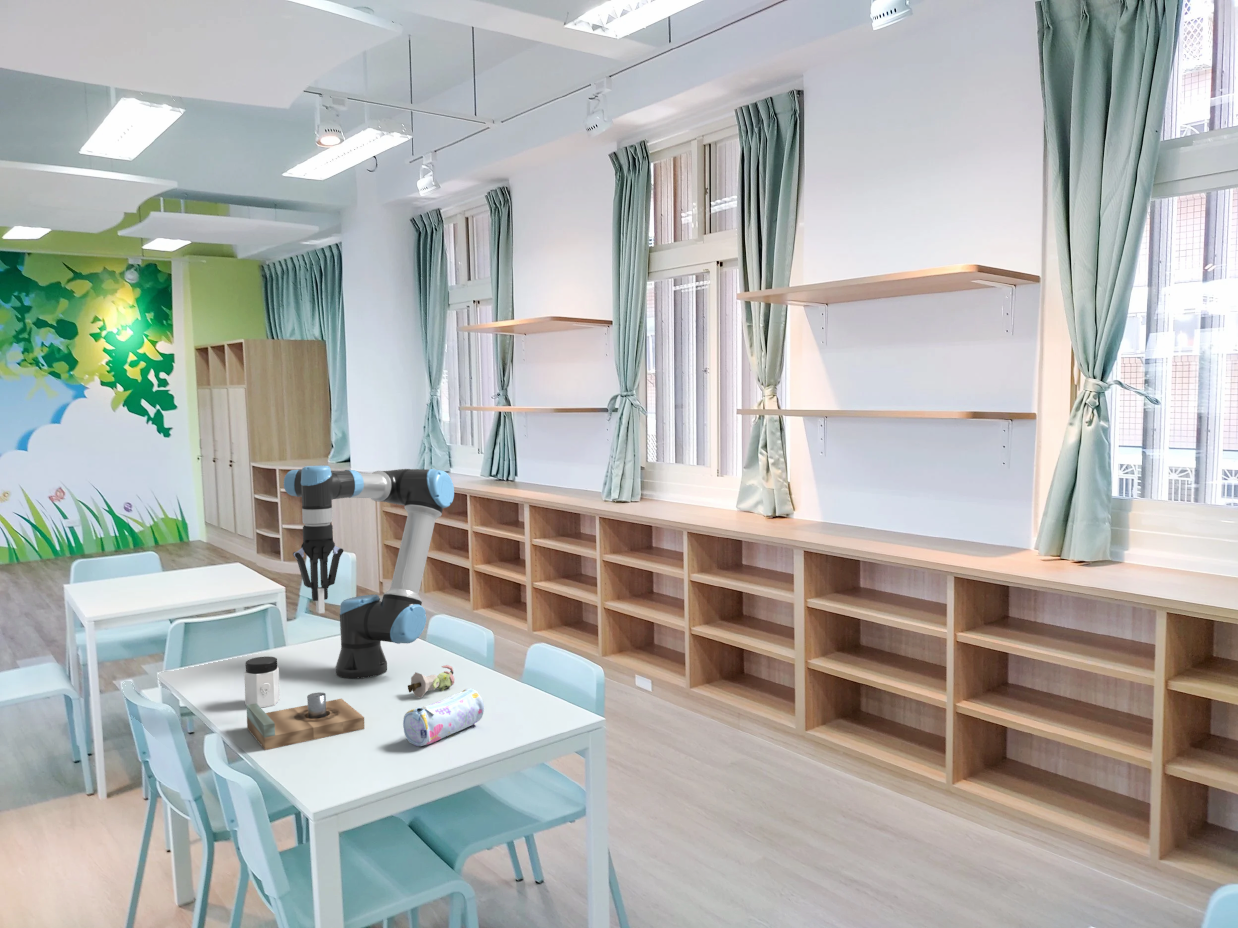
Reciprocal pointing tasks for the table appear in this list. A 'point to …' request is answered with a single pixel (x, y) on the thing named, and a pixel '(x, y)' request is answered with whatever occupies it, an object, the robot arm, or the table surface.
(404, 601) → the robot arm
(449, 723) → the pencil case
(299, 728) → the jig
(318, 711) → the grey metal cylinder
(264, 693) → the jar
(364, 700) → the table surface
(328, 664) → the table surface
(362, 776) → the table surface
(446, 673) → the figurine
